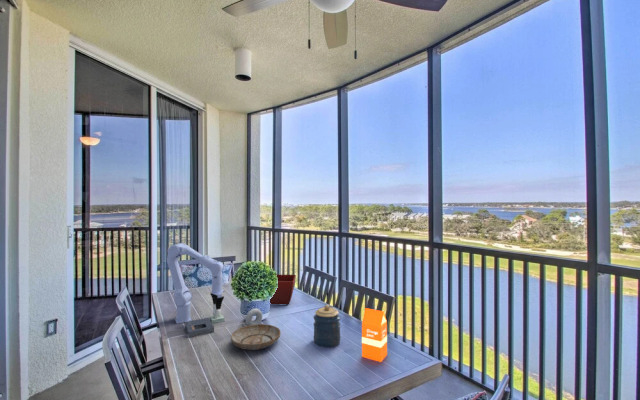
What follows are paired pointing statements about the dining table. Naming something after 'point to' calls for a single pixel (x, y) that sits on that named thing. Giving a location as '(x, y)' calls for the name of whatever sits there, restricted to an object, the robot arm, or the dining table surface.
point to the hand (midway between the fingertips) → (217, 307)
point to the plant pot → (284, 289)
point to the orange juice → (374, 335)
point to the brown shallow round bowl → (255, 336)
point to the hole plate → (199, 327)
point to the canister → (326, 327)
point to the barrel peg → (216, 312)
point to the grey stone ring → (251, 314)
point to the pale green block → (216, 319)
